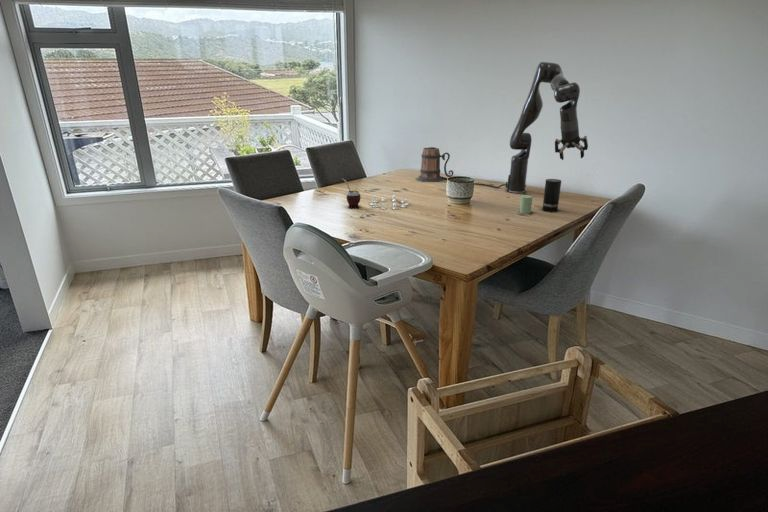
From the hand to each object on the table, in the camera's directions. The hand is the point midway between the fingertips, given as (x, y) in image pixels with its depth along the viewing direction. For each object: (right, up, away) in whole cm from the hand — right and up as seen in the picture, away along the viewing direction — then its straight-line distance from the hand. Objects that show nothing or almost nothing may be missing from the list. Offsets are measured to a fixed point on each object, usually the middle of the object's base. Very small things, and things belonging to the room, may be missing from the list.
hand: (572, 158), depth 226 cm
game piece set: (-87, -20, +20) cm, 91 cm away
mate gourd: (-105, -22, +15) cm, 109 cm away
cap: (-21, -25, +6) cm, 33 cm away
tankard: (-56, +3, +82) cm, 100 cm away
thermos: (-7, -24, +10) cm, 27 cm away
